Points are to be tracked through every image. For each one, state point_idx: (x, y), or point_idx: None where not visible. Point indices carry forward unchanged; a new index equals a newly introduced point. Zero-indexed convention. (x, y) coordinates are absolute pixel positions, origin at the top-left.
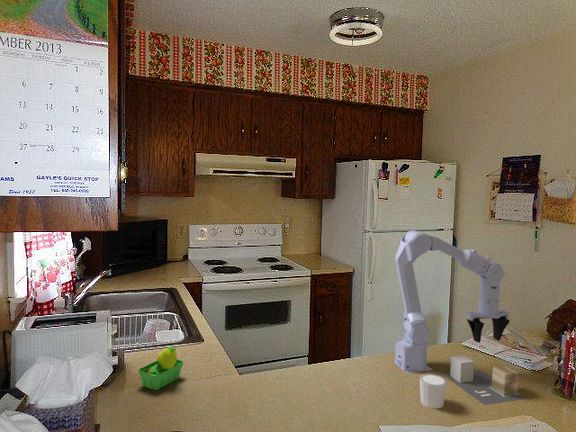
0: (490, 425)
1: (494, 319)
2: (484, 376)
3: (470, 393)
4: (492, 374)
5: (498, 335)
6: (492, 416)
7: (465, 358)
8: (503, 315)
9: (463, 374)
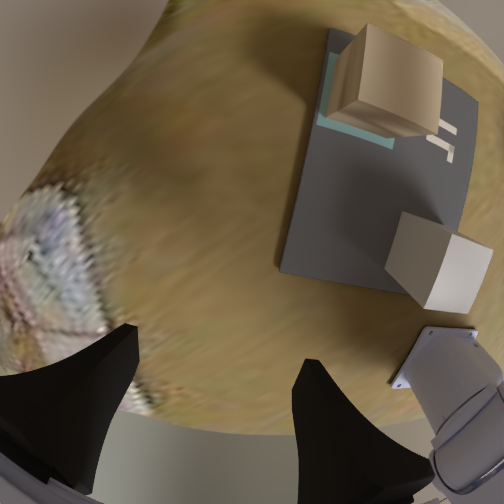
0: (500, 65)
1: (84, 473)
2: (325, 216)
3: (468, 160)
4: (416, 135)
5: (121, 353)
6: (481, 71)
7: (448, 278)
8: (1, 460)
9: (453, 230)
